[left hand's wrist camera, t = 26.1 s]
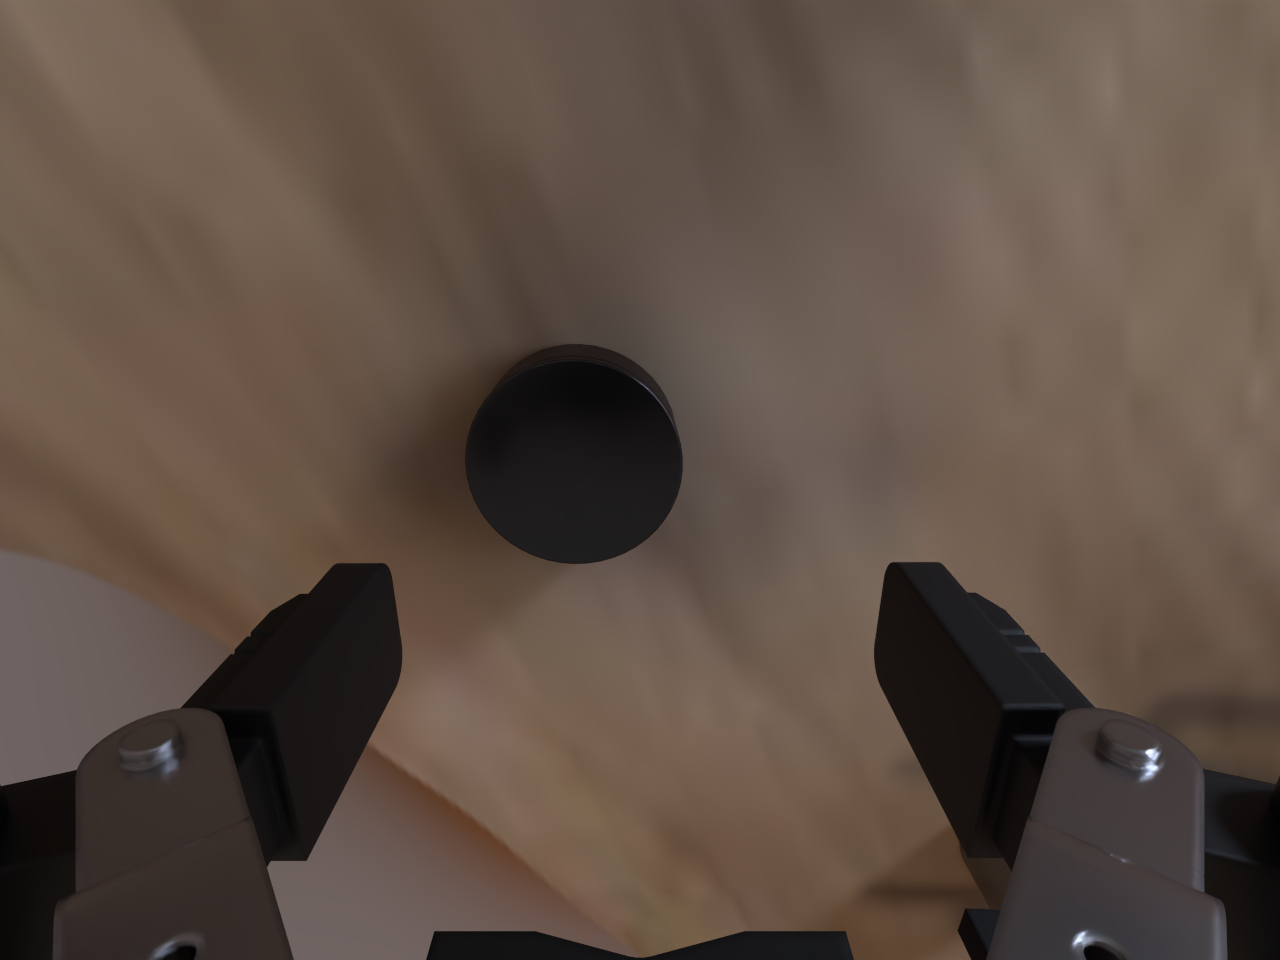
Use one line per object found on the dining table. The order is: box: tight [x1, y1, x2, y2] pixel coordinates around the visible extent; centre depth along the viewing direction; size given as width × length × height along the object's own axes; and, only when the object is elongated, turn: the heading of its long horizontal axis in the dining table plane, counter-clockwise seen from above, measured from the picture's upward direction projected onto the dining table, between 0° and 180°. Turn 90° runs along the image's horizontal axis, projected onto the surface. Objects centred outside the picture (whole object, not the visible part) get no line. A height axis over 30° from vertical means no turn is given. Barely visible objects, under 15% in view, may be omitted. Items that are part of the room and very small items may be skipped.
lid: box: [465, 344, 683, 564], centre depth 17 cm, size 5×5×2 cm
